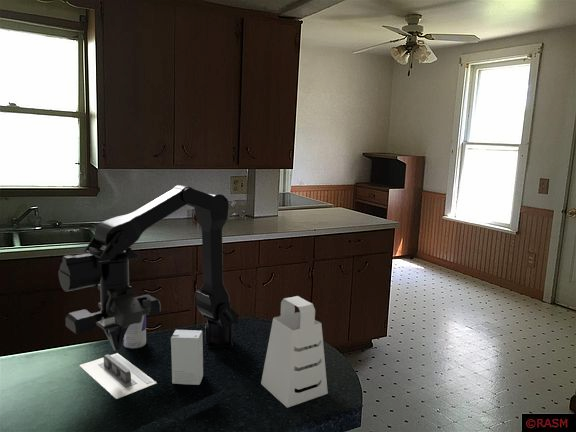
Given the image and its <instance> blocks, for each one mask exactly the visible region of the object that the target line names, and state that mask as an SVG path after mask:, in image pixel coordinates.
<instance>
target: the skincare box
mask: <svg viewBox="0 0 576 432" xmlns="http://www.w3.org/2000/svg"><path fill="white" fill-rule="evenodd" d="M170 346H171V349H170V352H171V353H170V355H171V383H172V384H174V385H175V384H177V385H195V386H196V385H197V386H199V385H201V382H202V380H203V377H204V354H203V353H204V349H203V330H194V329H193V330H192V329H191V330H190V329H175V330H174V332H173V334H172V335H171V337H170Z"/></svg>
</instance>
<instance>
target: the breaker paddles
mask: <svg viewBox="0 0 576 432" xmlns="http://www.w3.org/2000/svg"><path fill="white" fill-rule="evenodd" d="M110 355H111V354H109V353H107V354H104V366H105V367H106V368H107V369H111V368H112V373H113V374H115V375H116V376H119V375H121V380H122V381H123V382H124V383H125V384H126V383H129V382H131V373H130V371H129V370H128V369H127V368H125V367H124V366H123V365H122V364H120V363H119V362H118V361H116V360H115V359H114V358H113V357H111V356H110Z"/></svg>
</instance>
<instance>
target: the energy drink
mask: <svg viewBox="0 0 576 432" xmlns="http://www.w3.org/2000/svg"><path fill="white" fill-rule="evenodd" d="M146 344H147V314H146V315H143V317H142V321H141V322H140V323H135V324H131V325H130V326H129V327H128V329H127V331H126V333H125V336H124V338H123V346H124V347H125V348H127V349H138V348H142V347H144V346H145V345H146Z"/></svg>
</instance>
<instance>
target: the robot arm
mask: <svg viewBox="0 0 576 432" xmlns="http://www.w3.org/2000/svg"><path fill="white" fill-rule="evenodd" d="M184 206H190V207H192V208H194V212H195V213H194V214H195V217H196V220H197V222H198V223H199V226H200V228H201V244H202V276H203V277H202V279H203V282H202V286H201V287H200V289H198V290H195V293H194V295H195V303H194V306H195V307H197V308H196V309H197V310H198V311H199V313H201V316H202V318H203V319H206V320H207V323H206V324H205V325H204V343H205V344H206V348H207V349H220V348H221V349H224V348H233V345H234V344H233V326H234V325H235V324H237V323H238V321H239V317H240V315H239V313H237V312H236V311H235V310H234V309H233V308H232V306H231V301H230V294H229V292H228V291H227V289H226V287H225V284H224V266H223V265H224V262H223V261H224V260H223V259H224V258H223V256H224V255H223V227H224V226H225V224H226V221H227V220H228V217H229V208H230V204H229V200H228V198H227V197H226V196H225V195H223V194H221V193H217V192H216V193H215V192H209V191H200V190H198V189H195V188H193V187H191V186H187V185H184V184H183V185H182V184H177V185H175V186H174V187H173V188H172V189H171V190H169V191H167V192H165V193H164V194H162V195H160V196H159V197H156V198H155V199H154V200H151V201H149V202H148V203H146V204H145V205H143V206H141V207H140V208H138V209H136V210H134V211H132V212H130V213H129V212H128V213H127V214H122V215H118V216H115V217H111V218H109V219H106V220H103V221H101V222H100V223H99V224H97V225H96V227H95V231H94V235H93V237H92V239H91V240H90V241H89V243H88V245H87V246H86V247H85V249H84V250H83V253H81V254H76V255H63V256H62V262H61V263H60V264H59V270H57V271H58V273H57V274H58V280H59V285H60V286H61V289H62V290H63V291H64V292H71V291H75V290H81V289H85V288H91V287H95V286H96V285H97V290H99V292H100V295H99V296H100V302H98V303H97V304H98V307H97V308H98V309H100V311H97V312H92V313H91V312H90V311H88V309H81V310H75V311H71V312H69V313H68V314H67V315H66V316H65V320H64V321H65V322H64V323H65V327H66V328H67V329H69V330H70V331H72V332H73V333H74V334H75V335H82V334H85V333H89V332H93V331H94V330H95V329H96V327H97V326H98V327H99V328H100V329H102V330H103V331H104V334H105V335H106V337H107V340H108V341H109V343H110V345H111V347H112V349H113V351H114V352H117V351H120V349H121V346H122V344H123V342H124V336H125V333H126V331H127V329H128V327H129V326H130V325H131V324H135V323H140V322H141V321H142V317H143V315H146V316H147V315H148V316H151V315H155V314H159V313H161V312H162V308H161V307H162V303H161V301H160V300H159V299H158V298H156V297H154V296H151V295H150V294H143V295H139V296H135V295H134V290H133V286H132V285H130V269H129V264H130V263H129V260H135V259H138V258H139V254H138V253H136V252H135V251H134V250H133V249H132V248H131V247H132V246H133V245H134V244H135V243H136V242H138V240H140V237H141V236H142V234H143V233H144V232H145V231H146V230H147V229H150V228H151V227H152V226H153V225H154V226H155V225H156V224H157V223H159V222H160V221H162V220H163V219H166V218H167V217H168V216H171V215H172V214H173V213H175V212H176V211H179V210H180V209H182V208H183V207H184ZM101 248H104V249H101Z"/></svg>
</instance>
